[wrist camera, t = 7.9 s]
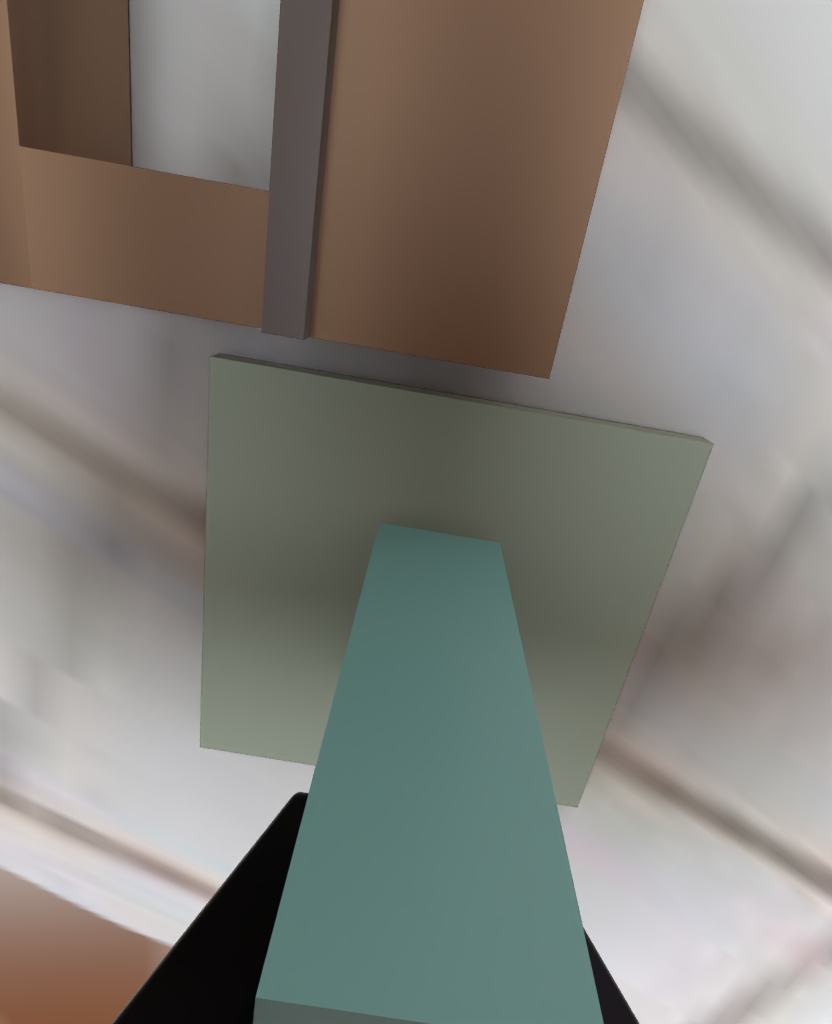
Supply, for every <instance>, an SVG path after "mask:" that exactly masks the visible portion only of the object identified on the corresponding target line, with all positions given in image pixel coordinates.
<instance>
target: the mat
mask: <svg viewBox="0 0 832 1024" xmlns="http://www.w3.org/2000/svg"><path fill="white" fill-rule="evenodd" d="M713 445H714V444H713V443H711V442H710V441H708V440H706V439H705V438H703V437H697V436H691V435H685V434H680V433H674V432H668V431H662V430H657V429H651V428H645V427H639V426H634V425H628V424H622V423H616V422H611V421H605V420H599V419H593V418H588V417H582V416H576V415H570V414H565V413H559V412H553V411H547V410H542V409H536V408H530V407H524V406H519V405H513V404H507V403H502V402H496V401H490V400H484V399H479V398H473V397H467V396H461V395H456V394H450V393H444V392H438V391H433V390H427V389H421V388H415V387H410V386H404V385H398V384H392V383H387V382H381V381H375V380H369V379H364V378H358V377H352V376H346V375H341V374H335V373H329V372H323V371H318V370H312V369H306V368H300V367H295V366H289V365H283V364H277V363H272V362H266V361H260V360H254V359H249V358H243V357H237V356H231V355H226V354H220V353H219V354H216V355H213V356H210V378H209V416H208V454H207V493H206V531H205V569H204V608H203V646H202V684H201V723H200V747H202V748H208V749H215V750H221V751H227V752H234V753H240V754H246V755H252V756H259V757H265V758H271V759H277V760H284V761H290V762H296V763H302V764H309V765H315V766H316V764H317V760H318V756H319V752H320V748H321V745H322V741H323V737H324V733H325V729H326V725H327V722H328V718H329V714H330V710H331V706H332V702H333V699H334V695H335V691H336V687H337V683H338V679H339V676H340V672H341V668H342V664H343V660H344V656H345V653H346V649H347V645H348V641H349V637H350V633H351V630H352V626H353V622H354V618H355V614H356V610H357V607H358V603H359V599H360V595H361V591H362V587H363V584H364V580H365V576H366V572H367V568H368V564H369V561H370V557H371V553H372V549H373V545H374V541H375V538H376V534H377V530H378V526H379V523H385V524H391V525H397V526H403V527H409V528H415V529H421V530H427V531H433V532H439V533H445V534H450V535H456V536H462V537H468V538H474V539H480V540H486V541H492V542H498V543H500V545H501V550H502V554H503V559H504V564H505V568H506V573H507V578H508V582H509V587H510V591H511V596H512V601H513V605H514V610H515V615H516V619H517V624H518V629H519V633H520V638H521V642H522V647H523V652H524V656H525V661H526V666H527V670H528V675H529V680H530V684H531V689H532V693H533V698H534V703H535V707H536V712H537V717H538V721H539V726H540V731H541V735H542V740H543V744H544V749H545V754H546V758H547V763H548V768H549V772H550V777H551V782H552V786H553V791H554V795H555V800H556V804H559V805H566V806H572V807H578V804H579V802H580V799H581V796H582V794H583V791H584V788H585V786H586V783H587V780H588V778H589V775H590V772H591V770H592V767H593V764H594V762H595V759H596V756H597V754H598V751H599V748H600V746H601V743H602V740H603V738H604V735H605V732H606V730H607V727H608V724H609V722H610V719H611V716H612V714H613V711H614V708H615V706H616V703H617V700H618V698H619V695H620V692H621V690H622V687H623V684H624V682H625V679H626V676H627V674H628V671H629V668H630V666H631V663H632V660H633V658H634V655H635V652H636V650H637V647H638V644H639V642H640V639H641V636H642V634H643V631H644V629H645V626H646V623H647V621H648V618H649V615H650V613H651V610H652V607H653V605H654V602H655V599H656V597H657V594H658V591H659V589H660V586H661V583H662V581H663V578H664V575H665V573H666V570H667V567H668V565H669V562H670V559H671V557H672V554H673V551H674V549H675V546H676V543H677V541H678V538H679V535H680V533H681V530H682V527H683V525H684V522H685V519H686V517H687V514H688V511H689V509H690V506H691V503H692V501H693V498H694V495H695V493H696V490H697V487H698V485H699V482H700V479H701V477H702V474H703V471H704V469H705V466H706V463H707V461H708V458H709V455H710V453H711V450H712V447H713Z"/></svg>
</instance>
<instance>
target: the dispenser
mask: <svg viewBox="0 0 832 1024" xmlns="http://www.w3.org/2000/svg"><path fill="white" fill-rule="evenodd" d="M643 2H644V0H281V3H280V20H279V37H278V54H277V71H276V88H275V105H274V123H273V140H272V157H271V174H270V191H266V190H260V189H254V188H249V187H243V186H238V185H232V184H227V183H221V182H216V181H210V180H205V179H199V178H193V177H188V176H182V175H177V174H171V173H166V172H160V171H155V170H149V169H144V168H138V167H132V161H131V116H130V71H129V26H128V0H0V283H4V284H10V285H16V286H21V287H27V288H33V289H39V290H44V291H50V292H56V293H61V294H67V295H73V296H78V297H84V298H90V299H96V300H101V301H107V302H113V303H118V304H124V305H130V306H136V307H141V308H147V309H153V310H158V311H164V312H170V313H175V314H181V315H187V316H193V317H198V318H204V319H210V320H215V321H221V322H227V323H233V324H238V325H244V326H250V327H255V328H261V332H263V333H268V334H274V335H280V336H285V337H291V338H297V339H303V340H304V339H306V338H308V337H312V338H318V339H324V340H330V341H335V342H341V343H347V344H352V345H358V346H364V347H370V348H375V349H381V350H387V351H392V352H398V353H404V354H409V355H415V356H421V357H427V358H432V359H438V360H444V361H449V362H455V363H461V364H467V365H472V366H478V367H484V368H489V369H495V370H501V371H506V372H512V373H518V374H524V375H529V376H535V377H541V378H546V379H549V377H550V373H551V369H552V365H553V361H554V357H555V353H556V349H557V345H558V341H559V337H560V333H561V329H562V325H563V321H564V317H565V313H566V309H567V305H568V301H569V297H570V293H571V289H572V285H573V281H574V277H575V273H576V269H577V265H578V261H579V257H580V253H581V249H582V245H583V241H584V238H585V234H586V230H587V226H588V222H589V218H590V214H591V210H592V206H593V202H594V198H595V194H596V190H597V186H598V182H599V178H600V174H601V170H602V166H603V162H604V158H605V154H606V150H607V146H608V142H609V138H610V134H611V130H612V126H613V122H614V118H615V114H616V110H617V106H618V102H619V98H620V94H621V90H622V86H623V82H624V78H625V74H626V70H627V66H628V62H629V58H630V54H631V50H632V46H633V42H634V38H635V34H636V30H637V26H638V22H639V18H640V14H641V10H642V6H643Z"/></svg>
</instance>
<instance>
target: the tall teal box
mask: <svg viewBox="0 0 832 1024" xmlns="http://www.w3.org/2000/svg"><path fill="white" fill-rule="evenodd" d="M253 1024H604V1023H603V1018H602V1013H601V1009H600V1004H599V999H598V995H597V990H596V985H595V981H594V976H593V972H592V967H591V962H590V958H589V953H588V948H587V944H586V939H585V934H584V930H583V925H582V921H581V916H580V911H579V907H578V902H577V897H576V893H575V888H574V883H573V879H572V874H571V870H570V865H569V860H568V856H567V851H566V846H565V842H564V837H563V832H562V828H561V823H560V819H559V814H558V809H557V805H556V800H555V795H554V791H553V786H552V782H551V777H550V772H549V768H548V763H547V758H546V754H545V749H544V744H543V740H542V735H541V731H540V726H539V721H538V717H537V712H536V707H535V703H534V698H533V693H532V689H531V684H530V680H529V675H528V670H527V666H526V661H525V656H524V652H523V647H522V642H521V638H520V633H519V629H518V624H517V619H516V615H515V610H514V605H513V601H512V596H511V591H510V587H509V582H508V578H507V573H506V568H505V564H504V559H503V554H502V550H501V545H500V543H498V542H492V541H486V540H480V539H474V538H468V537H462V536H456V535H450V534H445V533H439V532H433V531H427V530H421V529H415V528H409V527H403V526H397V525H391V524H385V523H379V526H378V530H377V534H376V538H375V541H374V545H373V549H372V553H371V557H370V561H369V564H368V568H367V572H366V576H365V580H364V584H363V587H362V591H361V595H360V599H359V603H358V607H357V610H356V614H355V618H354V622H353V626H352V630H351V633H350V637H349V641H348V645H347V649H346V653H345V656H344V660H343V664H342V668H341V672H340V676H339V679H338V683H337V687H336V691H335V695H334V699H333V702H332V706H331V710H330V714H329V718H328V722H327V725H326V729H325V733H324V737H323V741H322V745H321V748H320V752H319V756H318V760H317V764H316V768H315V771H314V775H313V779H312V783H311V787H310V791H309V794H308V798H307V802H306V806H305V810H304V814H303V817H302V821H301V825H300V829H299V833H298V837H297V840H296V844H295V848H294V852H293V856H292V860H291V863H290V867H289V871H288V875H287V879H286V883H285V886H284V890H283V894H282V898H281V902H280V906H279V909H278V913H277V917H276V921H275V925H274V929H273V932H272V936H271V940H270V944H269V948H268V952H267V955H266V959H265V963H264V967H263V971H262V975H261V978H260V982H259V986H258V990H257V994H256V998H255V1008H254V1019H253Z"/></svg>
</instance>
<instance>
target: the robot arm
mask: <svg viewBox="0 0 832 1024" xmlns="http://www.w3.org/2000/svg"><path fill="white" fill-rule="evenodd" d="M308 794H309V793H303V792H298V793H296V794H295V795H294V796H292V798H291V799H290V800H289V801H288V803H287V804H286V805H285V806H284V808H283V809H282V810H281V811H280V813H279V814H278V815H277V816H276V818H275V819H274V820H273V821H272V823H271V824H270V825H269V826H268V828H267V829H266V830H265V831H264V833H263V834H262V835H261V836H260V838H259V839H258V840H257V842H256V843H255V844H254V845H253V847H252V848H251V849H250V850H249V852H248V853H247V854H246V855H245V857H244V858H243V859H242V860H241V862H240V863H239V864H238V865H237V867H236V868H235V869H234V870H233V872H232V873H231V874H230V875H229V877H228V878H227V879H226V881H225V882H224V883H223V884H222V886H221V887H220V888H219V889H218V891H217V892H216V893H215V894H214V896H213V897H212V898H211V899H210V901H209V902H208V903H207V904H206V906H205V907H204V908H203V909H202V911H201V912H200V913H199V914H198V916H197V917H196V918H195V920H194V921H193V922H192V923H191V925H190V926H189V927H188V928H187V930H186V931H185V932H184V933H183V935H182V936H181V937H180V938H179V940H178V941H177V942H176V943H175V945H174V946H173V947H172V948H171V950H170V951H169V952H168V954H167V955H166V956H165V957H164V959H163V960H162V961H161V962H160V964H159V965H158V966H157V967H156V969H155V970H154V971H153V973H152V974H151V975H150V976H149V977H148V979H147V980H146V981H145V982H144V984H143V985H142V986H141V987H140V989H139V990H138V991H137V993H136V994H135V995H134V996H133V998H132V999H131V1000H130V1001H129V1003H128V1004H127V1005H126V1006H125V1008H124V1009H123V1010H122V1012H121V1013H120V1014H119V1015H118V1016H117V1018H116V1019H115V1020H114V1022H113V1023H112V1024H253V1019H254V1008H255V998H256V994H257V990H258V986H259V982H260V978H261V975H262V971H263V967H264V963H265V959H266V955H267V952H268V948H269V944H270V940H271V936H272V932H273V929H274V925H275V921H276V917H277V913H278V909H279V906H280V902H281V898H282V894H283V890H284V886H285V883H286V879H287V875H288V871H289V867H290V863H291V860H292V856H293V852H294V848H295V844H296V840H297V837H298V833H299V829H300V825H301V821H302V817H303V814H304V810H305V806H306V802H307V798H308ZM583 930H584V934H585V939H586V944H587V948H588V953H589V958H590V962H591V967H592V972H593V976H594V981H595V985H596V990H597V995H598V999H599V1004H600V1009H601V1013H602V1018H603V1023H604V1024H639V1022H638V1020H637V1019H636V1017H635V1015H634V1013H633V1012H632V1010H631V1008H630V1007H629V1005H628V1003H627V1001H626V1000H625V998H624V996H623V995H622V993H621V991H620V989H619V988H618V986H617V984H616V983H615V981H614V979H613V977H612V976H611V974H610V972H609V971H608V969H607V967H606V965H605V964H604V962H603V960H602V959H601V957H600V955H599V953H598V952H597V950H596V948H595V947H594V945H593V943H592V941H591V940H590V938H589V936H588V935H587V933H586V931H585V929H584V928H583Z"/></svg>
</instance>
